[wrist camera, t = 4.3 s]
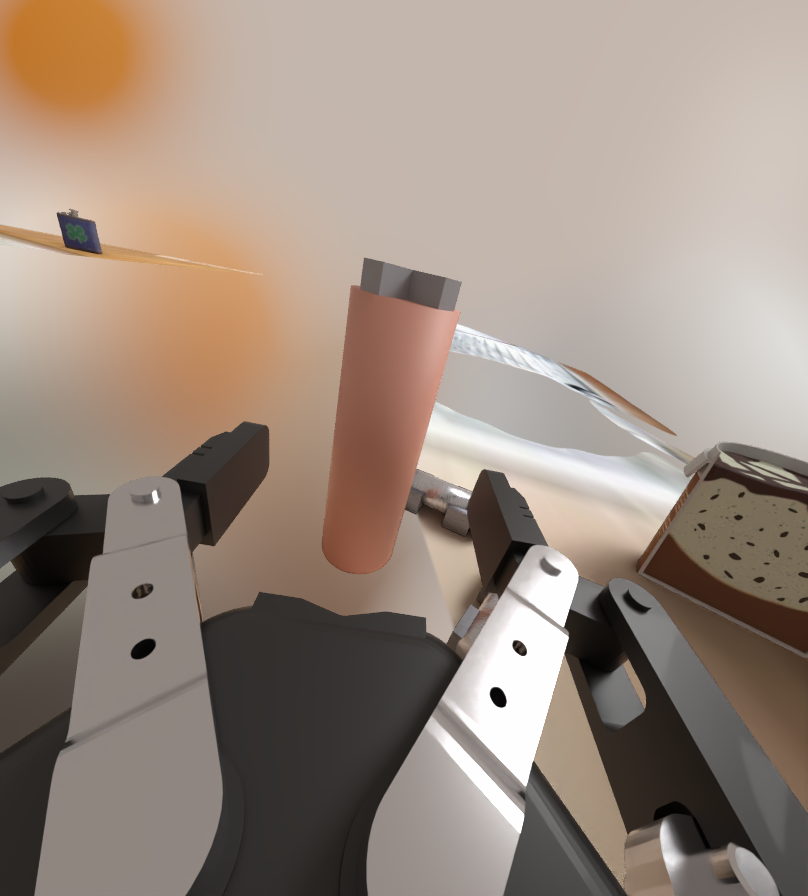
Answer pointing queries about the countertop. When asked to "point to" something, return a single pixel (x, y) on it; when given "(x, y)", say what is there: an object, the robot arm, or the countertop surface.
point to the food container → (740, 542)
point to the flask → (79, 232)
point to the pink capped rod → (384, 407)
